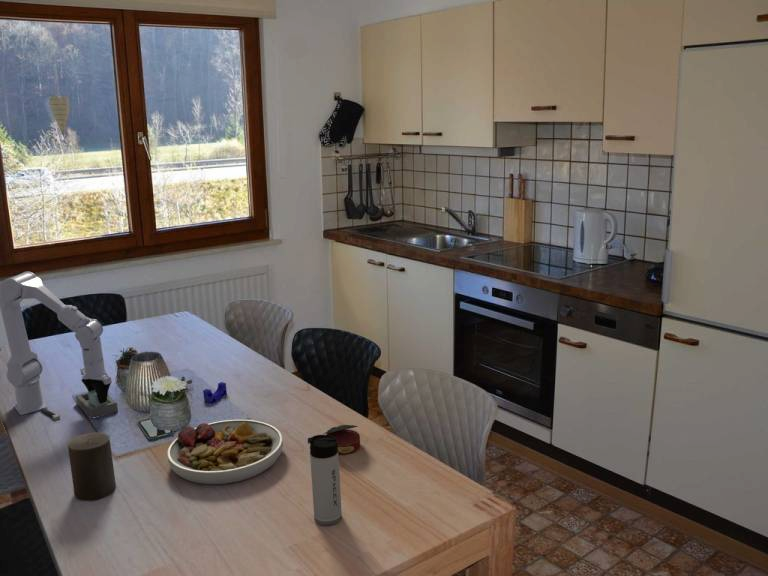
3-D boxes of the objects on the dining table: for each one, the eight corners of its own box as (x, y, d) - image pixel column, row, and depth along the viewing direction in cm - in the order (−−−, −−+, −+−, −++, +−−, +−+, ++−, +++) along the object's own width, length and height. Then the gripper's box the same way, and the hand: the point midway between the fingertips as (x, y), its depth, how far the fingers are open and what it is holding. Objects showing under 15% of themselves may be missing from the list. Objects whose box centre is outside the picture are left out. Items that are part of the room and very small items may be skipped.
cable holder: (212, 404, 229) (210, 392, 228) (204, 402, 231) (203, 390, 230) (230, 395, 235) (229, 383, 234) (222, 393, 237) (221, 382, 236)
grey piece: (76, 404, 232) (75, 395, 231) (102, 397, 237) (100, 388, 236) (92, 419, 221) (90, 409, 220) (118, 411, 226) (116, 402, 225)
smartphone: (161, 415, 221) (174, 432, 208) (161, 418, 221) (175, 435, 209) (136, 421, 217) (149, 439, 205) (136, 424, 217) (149, 442, 205)
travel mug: (312, 511, 167) (307, 433, 162) (341, 509, 168) (337, 431, 162) (312, 527, 161) (307, 446, 156) (342, 525, 162) (337, 443, 156)
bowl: (302, 442, 202) (300, 416, 200) (249, 498, 175) (246, 468, 173) (209, 429, 212) (206, 405, 210) (145, 480, 184) (141, 453, 182)
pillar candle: (91, 505, 173) (83, 448, 169) (66, 494, 178) (58, 439, 174) (124, 487, 181) (117, 432, 177) (99, 477, 186) (92, 423, 182)
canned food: (327, 468, 196) (308, 438, 195) (341, 448, 205) (323, 419, 203) (360, 457, 191) (340, 426, 189) (373, 436, 200) (355, 406, 198)
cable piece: (41, 412, 227) (40, 408, 227) (45, 410, 228) (44, 407, 228) (55, 420, 221) (55, 416, 221) (60, 418, 222) (59, 415, 222)
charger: (90, 407, 225) (87, 391, 224) (101, 402, 228) (99, 387, 227) (96, 410, 223) (94, 394, 222) (108, 405, 226) (106, 390, 224)
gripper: (68, 358, 223) (75, 399, 227) (93, 368, 214) (99, 410, 218) (90, 352, 229) (96, 392, 232) (115, 361, 220) (120, 402, 223)
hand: (99, 400), depth 225 cm, fingers closed on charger, 4 cm apart
